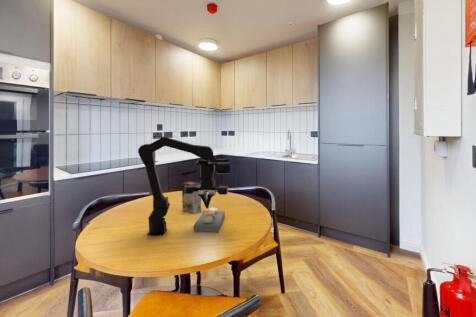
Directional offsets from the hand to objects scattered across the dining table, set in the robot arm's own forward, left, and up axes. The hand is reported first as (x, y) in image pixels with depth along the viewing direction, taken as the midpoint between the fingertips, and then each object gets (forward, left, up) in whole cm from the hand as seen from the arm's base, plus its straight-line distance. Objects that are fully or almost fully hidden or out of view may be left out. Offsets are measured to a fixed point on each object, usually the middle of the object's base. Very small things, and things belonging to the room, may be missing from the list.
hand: (207, 208), depth 114 cm
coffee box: (-14, +25, -10) cm, 31 cm away
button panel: (0, +6, -10) cm, 12 cm away
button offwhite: (0, +13, -6) cm, 14 cm away
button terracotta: (0, +6, -6) cm, 9 cm away
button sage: (0, 0, -6) cm, 6 cm away
